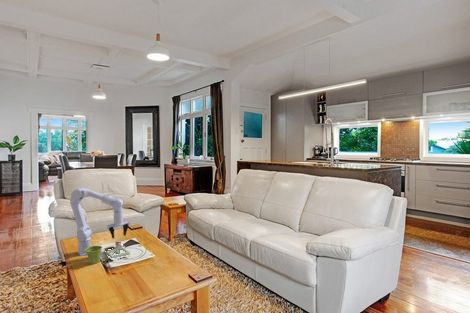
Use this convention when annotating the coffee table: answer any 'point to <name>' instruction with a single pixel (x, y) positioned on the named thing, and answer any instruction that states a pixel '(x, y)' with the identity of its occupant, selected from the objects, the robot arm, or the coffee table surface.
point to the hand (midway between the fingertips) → (118, 236)
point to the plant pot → (94, 254)
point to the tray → (118, 254)
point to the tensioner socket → (109, 248)
